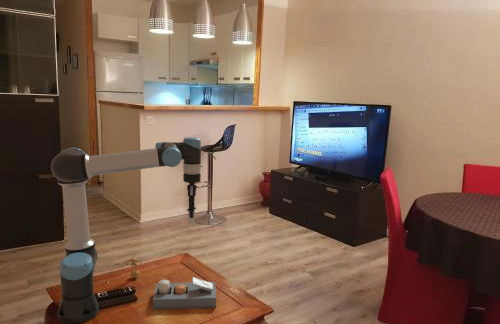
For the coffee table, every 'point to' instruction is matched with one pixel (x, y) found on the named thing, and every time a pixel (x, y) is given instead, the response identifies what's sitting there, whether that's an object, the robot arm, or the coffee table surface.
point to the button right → (180, 289)
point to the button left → (164, 287)
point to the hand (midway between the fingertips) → (191, 223)
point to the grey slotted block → (184, 298)
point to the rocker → (202, 284)
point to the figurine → (135, 272)
